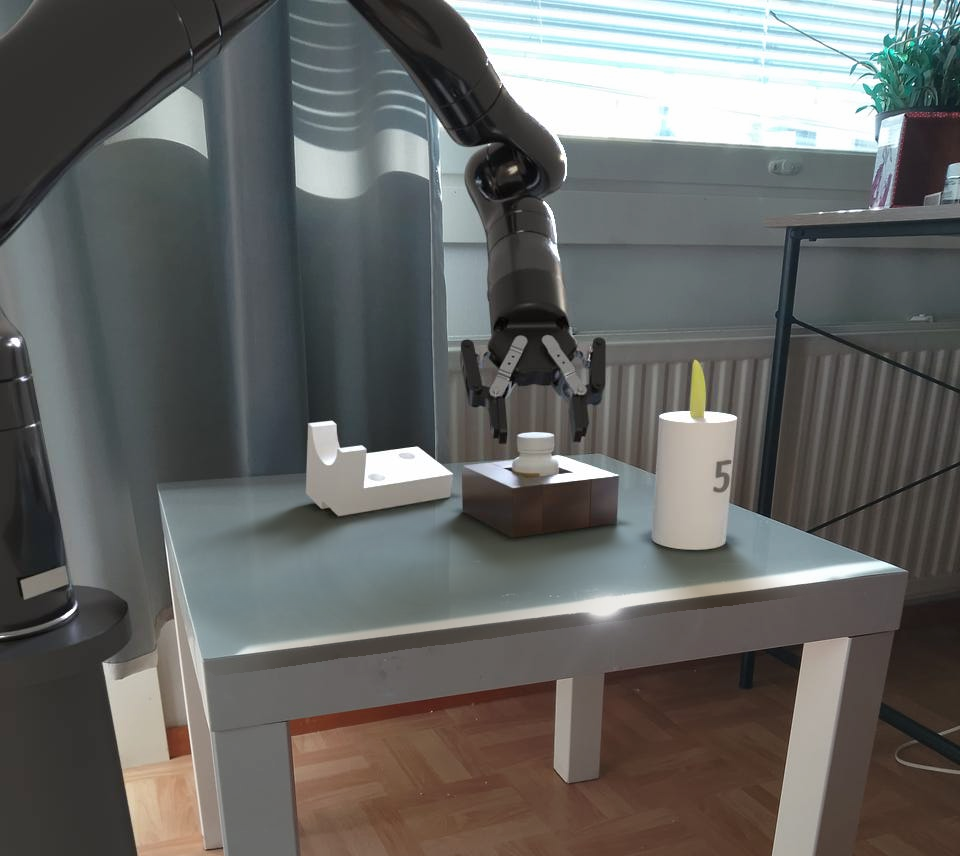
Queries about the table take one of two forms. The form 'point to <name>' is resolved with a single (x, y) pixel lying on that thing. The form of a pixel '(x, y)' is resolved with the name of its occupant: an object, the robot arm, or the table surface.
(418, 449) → the bracket
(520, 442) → the pill bottle
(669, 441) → the candle
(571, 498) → the socket
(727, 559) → the table surface
